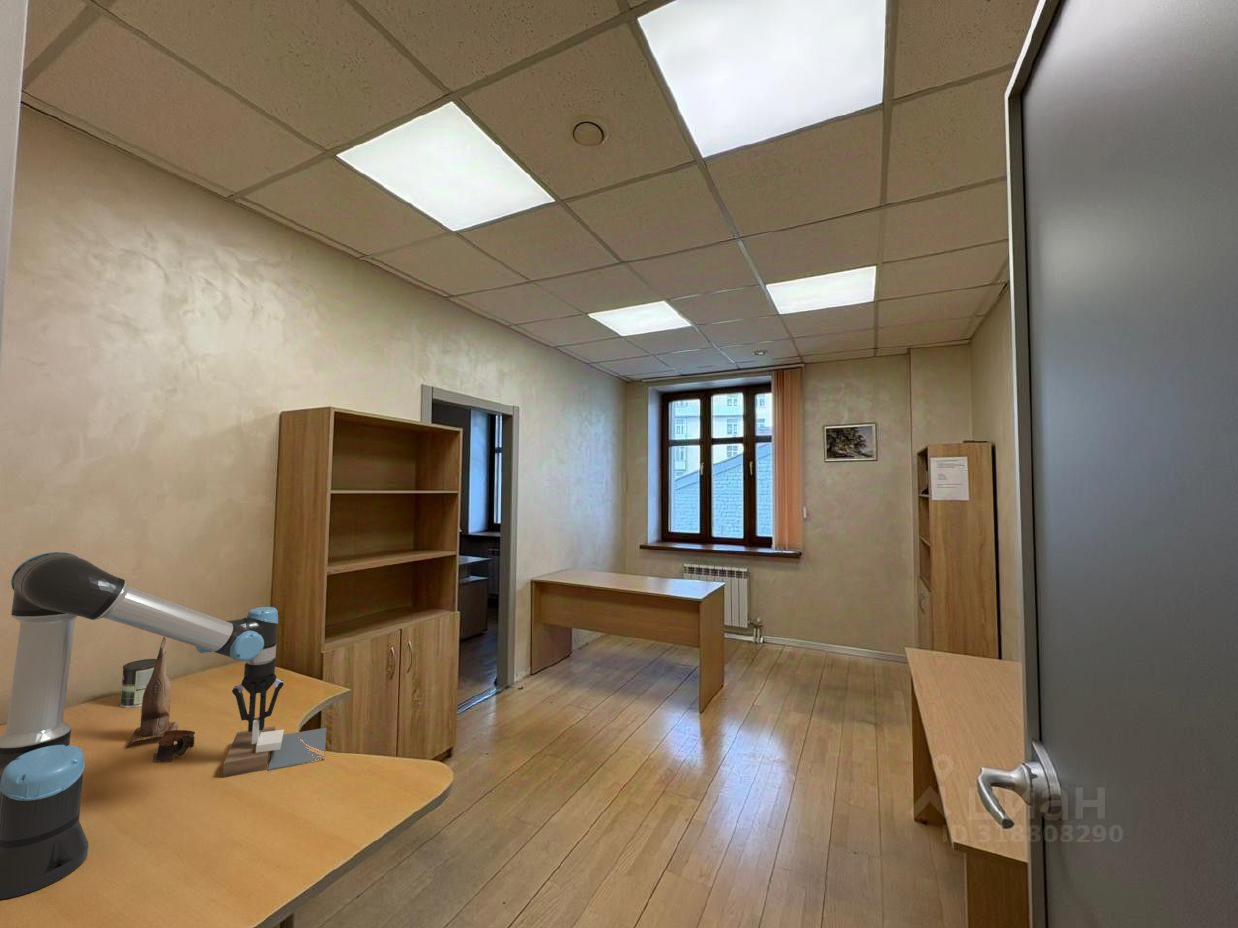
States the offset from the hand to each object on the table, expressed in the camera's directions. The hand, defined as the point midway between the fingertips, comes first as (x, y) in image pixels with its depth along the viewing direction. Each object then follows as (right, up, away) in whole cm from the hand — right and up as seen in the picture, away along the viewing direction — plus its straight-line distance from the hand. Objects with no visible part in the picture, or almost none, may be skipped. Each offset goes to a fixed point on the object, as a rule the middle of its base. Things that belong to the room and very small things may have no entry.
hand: (255, 741), depth 152 cm
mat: (+8, -6, +8) cm, 13 cm away
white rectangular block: (+3, -2, +2) cm, 4 cm away
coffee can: (-69, -6, +37) cm, 78 cm away
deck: (-3, -6, +2) cm, 6 cm away
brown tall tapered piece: (-40, -5, +11) cm, 42 cm away
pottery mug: (-25, -5, +2) cm, 26 cm away
